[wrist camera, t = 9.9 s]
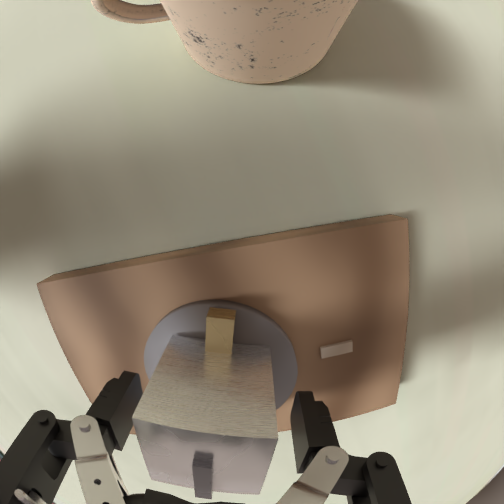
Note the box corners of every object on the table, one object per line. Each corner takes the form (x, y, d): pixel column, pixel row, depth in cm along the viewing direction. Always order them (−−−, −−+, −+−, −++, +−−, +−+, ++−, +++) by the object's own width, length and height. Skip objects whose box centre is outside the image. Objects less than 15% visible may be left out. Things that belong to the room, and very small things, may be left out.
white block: (172, 301, 12) (117, 387, 6) (275, 313, 12) (290, 412, 6) (177, 420, 14) (155, 499, 8) (254, 429, 14) (254, 513, 8)
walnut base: (118, 415, 18) (106, 437, 16) (53, 274, 15) (29, 288, 13) (386, 387, 17) (399, 410, 15) (390, 214, 14) (415, 220, 12)
